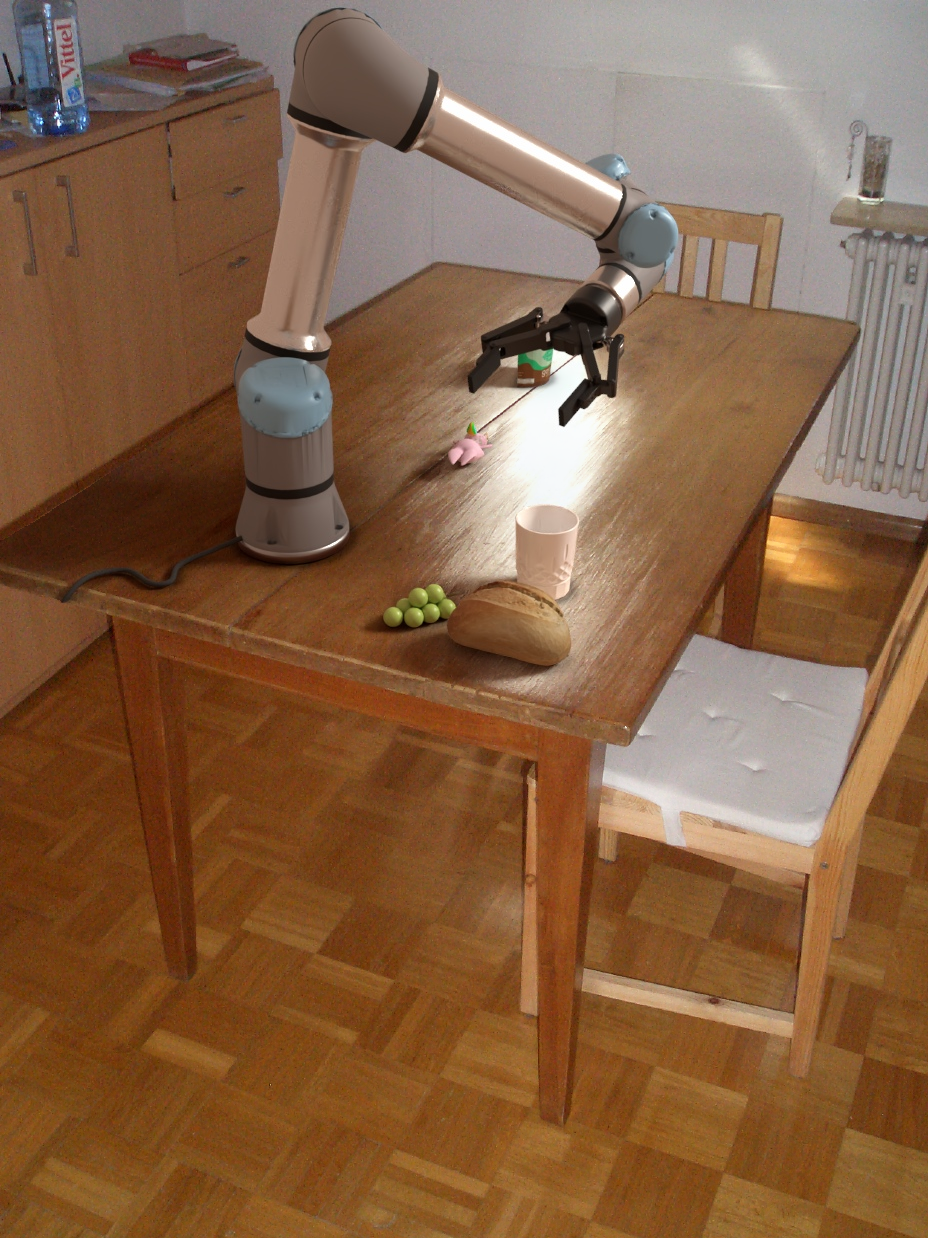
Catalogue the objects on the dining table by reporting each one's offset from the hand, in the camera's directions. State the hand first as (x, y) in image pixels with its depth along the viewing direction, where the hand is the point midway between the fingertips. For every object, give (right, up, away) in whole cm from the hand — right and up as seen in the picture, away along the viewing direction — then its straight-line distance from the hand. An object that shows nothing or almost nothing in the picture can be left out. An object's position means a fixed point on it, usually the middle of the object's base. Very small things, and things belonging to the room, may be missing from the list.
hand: (514, 401), depth 160 cm
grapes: (-12, -28, -5) cm, 30 cm away
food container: (+7, +14, +62) cm, 64 cm away
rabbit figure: (-6, -3, +33) cm, 34 cm away
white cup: (+4, -24, +2) cm, 24 cm away
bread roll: (-1, -31, -10) cm, 33 cm away
